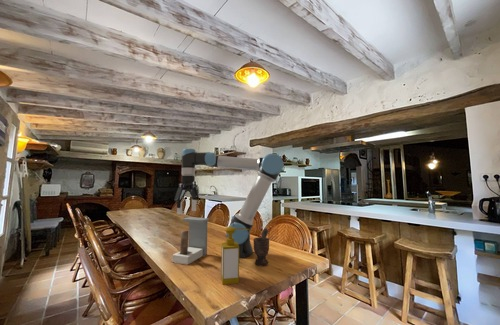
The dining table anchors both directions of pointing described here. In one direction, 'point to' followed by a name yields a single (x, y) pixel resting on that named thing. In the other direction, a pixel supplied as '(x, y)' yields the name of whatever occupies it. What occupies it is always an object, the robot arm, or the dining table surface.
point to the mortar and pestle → (261, 248)
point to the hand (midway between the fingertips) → (187, 212)
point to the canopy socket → (194, 241)
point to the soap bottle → (230, 258)
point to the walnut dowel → (184, 243)
